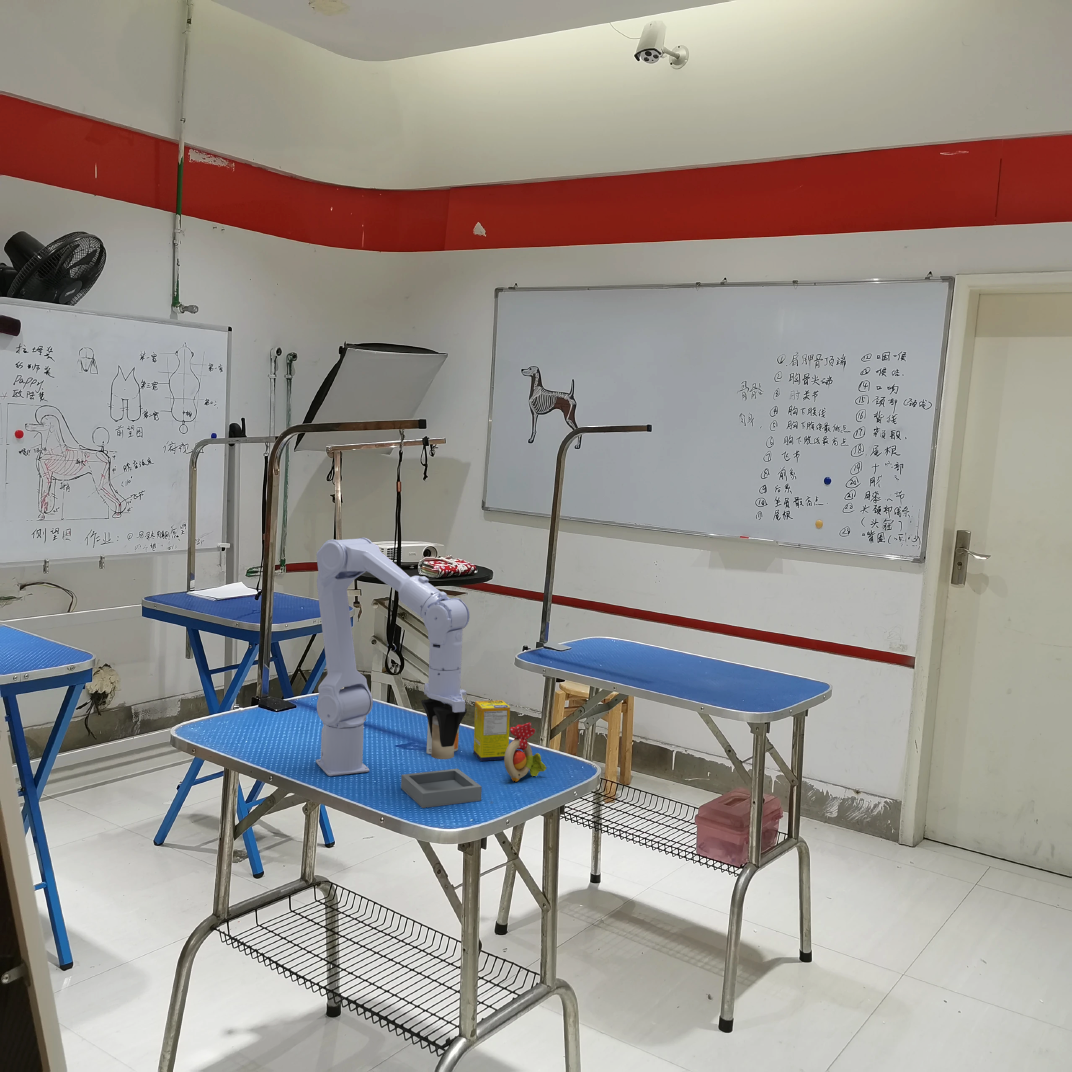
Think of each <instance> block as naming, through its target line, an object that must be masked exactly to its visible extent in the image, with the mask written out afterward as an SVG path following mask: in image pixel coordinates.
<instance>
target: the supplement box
mask: <svg viewBox="0 0 1072 1072" xmlns="http://www.w3.org/2000/svg"><path fill="white" fill-rule="evenodd" d="M510 718H511V706H510V705H509V704H507V703H506V702H505V701H504V700H503V699H501V700H500V699H499V700H497V699H496V700H480V701H479V700H476V701H474V729H473V733H474V734H473V754H474V755H475V756H476V758H477V759H478V760H479V761H480V762H486V761H498V760H499V761H500V760H502V761H503V760H504V757H505V752H506V749H507V747H508V746H509V744H510V725H511V724H510V720H511V719H510Z"/></svg>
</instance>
